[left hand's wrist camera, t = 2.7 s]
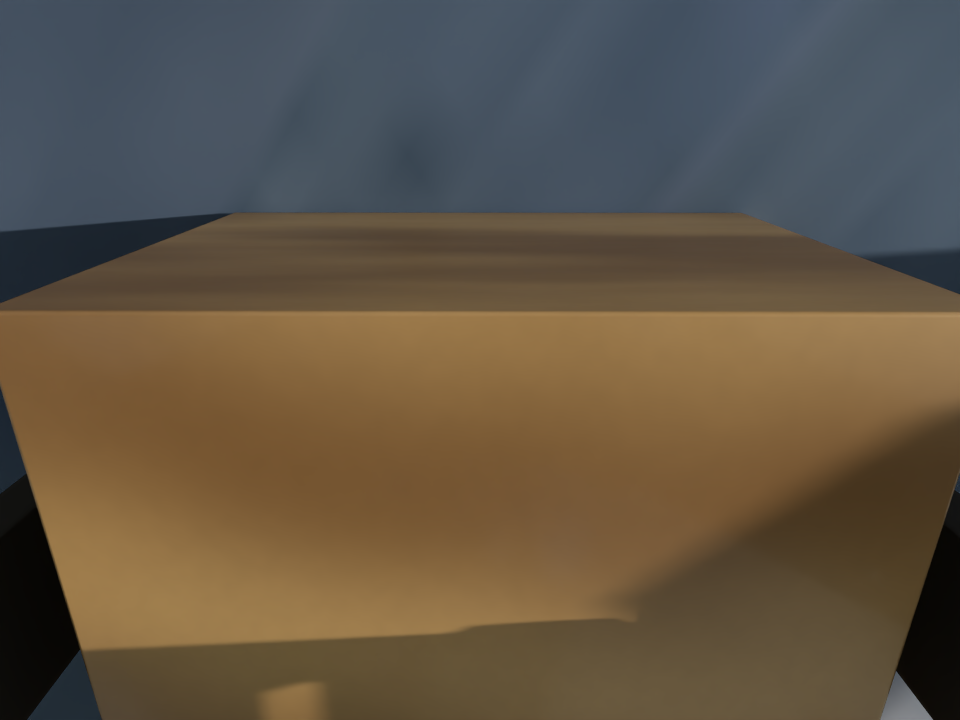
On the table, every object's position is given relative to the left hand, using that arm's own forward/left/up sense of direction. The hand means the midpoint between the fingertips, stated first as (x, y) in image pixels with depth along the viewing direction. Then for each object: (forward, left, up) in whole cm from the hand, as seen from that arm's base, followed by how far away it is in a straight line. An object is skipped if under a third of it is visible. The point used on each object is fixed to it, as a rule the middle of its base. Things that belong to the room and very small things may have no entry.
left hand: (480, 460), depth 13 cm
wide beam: (+29, +21, -2) cm, 35 cm away
